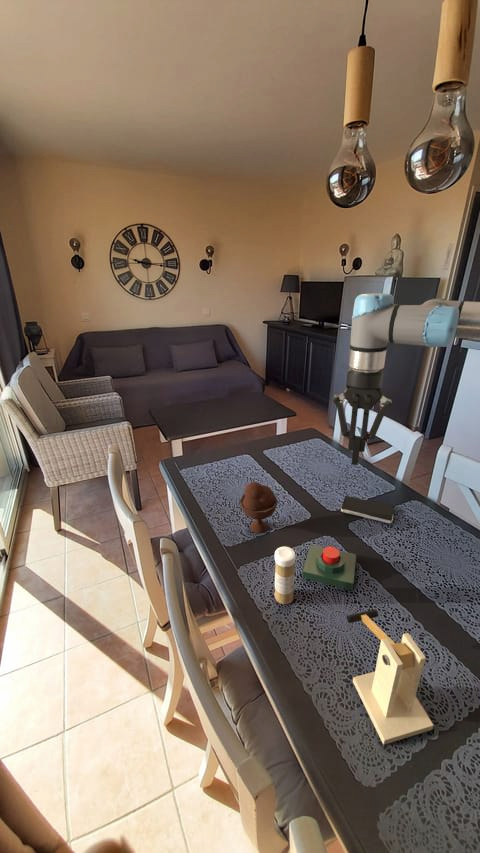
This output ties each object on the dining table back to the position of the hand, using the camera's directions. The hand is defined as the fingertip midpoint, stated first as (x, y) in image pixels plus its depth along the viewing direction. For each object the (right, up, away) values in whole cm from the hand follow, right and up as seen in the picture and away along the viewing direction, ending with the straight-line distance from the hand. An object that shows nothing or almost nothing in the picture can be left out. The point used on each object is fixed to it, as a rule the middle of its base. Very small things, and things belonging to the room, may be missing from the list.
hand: (354, 461), depth 89 cm
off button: (-6, -24, +2) cm, 25 cm away
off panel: (-5, -28, +3) cm, 28 cm away
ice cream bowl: (-23, -21, +19) cm, 37 cm away
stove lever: (-3, -29, -25) cm, 39 cm away
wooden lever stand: (-2, -40, -25) cm, 48 cm away
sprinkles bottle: (-18, -31, -4) cm, 37 cm away
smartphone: (+12, -18, +24) cm, 33 cm away
